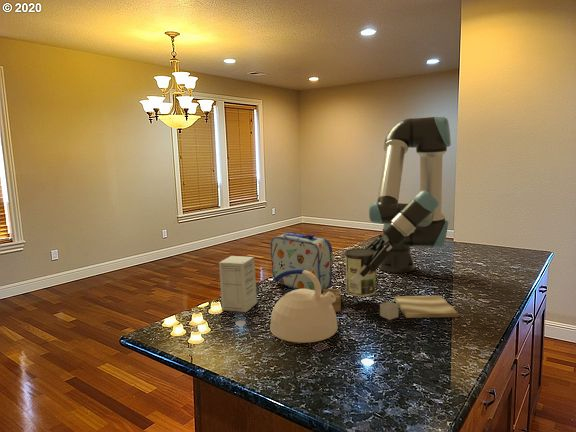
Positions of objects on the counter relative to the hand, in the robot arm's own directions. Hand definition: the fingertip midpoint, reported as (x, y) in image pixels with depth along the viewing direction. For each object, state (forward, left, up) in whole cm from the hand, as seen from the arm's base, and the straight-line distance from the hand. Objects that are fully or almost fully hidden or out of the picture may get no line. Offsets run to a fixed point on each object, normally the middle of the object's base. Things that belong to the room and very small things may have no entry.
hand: (351, 276), depth 139 cm
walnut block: (+6, -8, -10) cm, 14 cm away
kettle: (+19, -17, -10) cm, 28 cm away
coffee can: (0, +3, -6) cm, 7 cm away
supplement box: (+1, -39, -10) cm, 40 cm away
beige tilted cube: (+12, +10, -10) cm, 18 cm away
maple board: (+5, +23, -10) cm, 26 cm away
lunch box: (-18, -17, -10) cm, 26 cm away
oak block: (-2, -7, -10) cm, 12 cm away
